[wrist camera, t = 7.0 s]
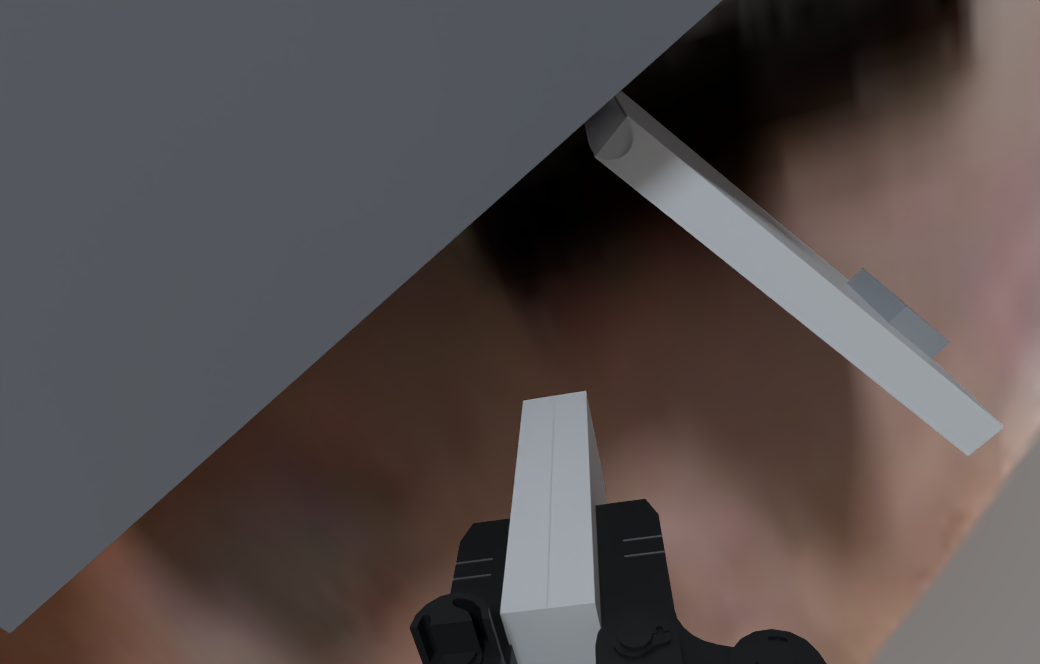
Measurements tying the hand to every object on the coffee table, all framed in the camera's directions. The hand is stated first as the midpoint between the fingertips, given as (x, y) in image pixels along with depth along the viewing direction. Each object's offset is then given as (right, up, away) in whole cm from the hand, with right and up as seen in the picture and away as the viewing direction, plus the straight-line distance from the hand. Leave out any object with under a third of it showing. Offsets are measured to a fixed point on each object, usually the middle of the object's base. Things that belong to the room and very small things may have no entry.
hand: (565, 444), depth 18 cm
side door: (+5, +7, +6) cm, 11 cm away
